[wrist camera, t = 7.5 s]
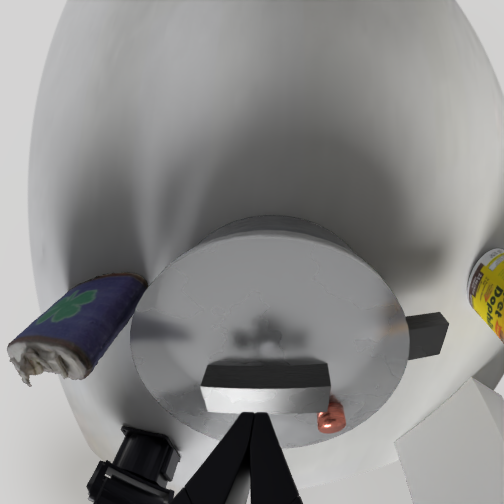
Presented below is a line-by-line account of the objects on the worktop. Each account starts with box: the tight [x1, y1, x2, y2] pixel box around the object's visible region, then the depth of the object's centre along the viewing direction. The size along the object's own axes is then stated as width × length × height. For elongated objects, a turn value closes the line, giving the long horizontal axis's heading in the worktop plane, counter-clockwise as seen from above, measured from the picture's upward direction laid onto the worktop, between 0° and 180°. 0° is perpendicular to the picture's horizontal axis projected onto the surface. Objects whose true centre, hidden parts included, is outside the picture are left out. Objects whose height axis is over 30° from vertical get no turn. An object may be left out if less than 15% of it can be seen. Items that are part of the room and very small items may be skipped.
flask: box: [7, 272, 148, 387], centre depth 15 cm, size 9×3×11 cm, turn 106°
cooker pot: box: [197, 215, 449, 360], centre depth 17 cm, size 18×16×5 cm
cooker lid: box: [130, 230, 410, 449], centre depth 13 cm, size 15×15×3 cm
